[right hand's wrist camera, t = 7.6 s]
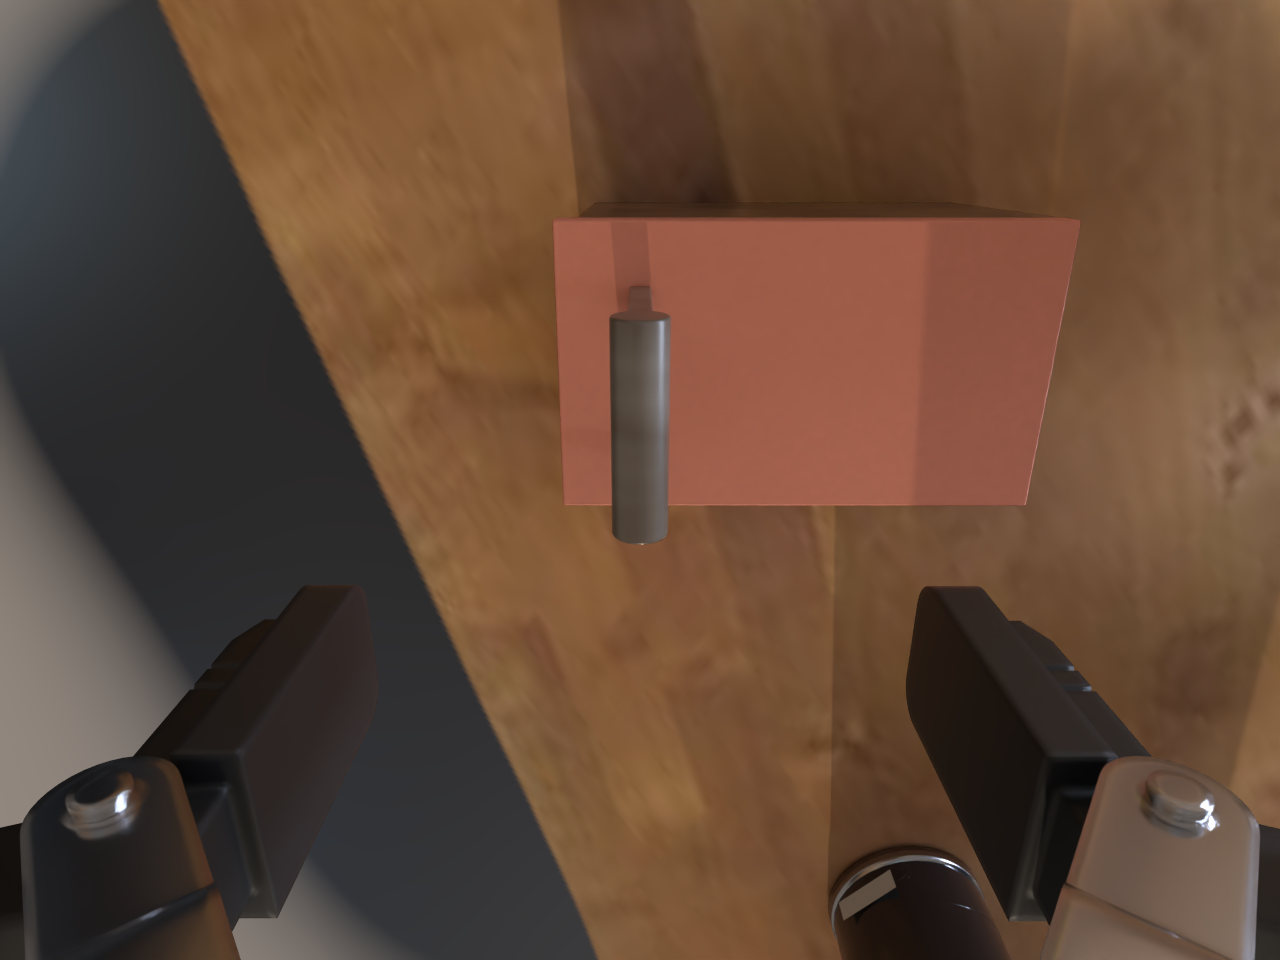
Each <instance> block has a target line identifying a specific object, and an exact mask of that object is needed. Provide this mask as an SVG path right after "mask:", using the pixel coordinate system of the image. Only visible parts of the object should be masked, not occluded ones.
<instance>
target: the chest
mask: <svg viewBox="0 0 1280 960" xmlns="http://www.w3.org/2000/svg"><path fill="white" fill-rule="evenodd" d="M579 218H1058V217H1052V216H1045V215H1037V214H1030V213H1022V212H1015V211H1007V210H1000V209H992V208H984V207H977V206H969V205H962V204H955V203H594V204H593V205H592V206H591V207H590V208H589V209H588V210H587V211H586V212H585V213H583V214H582V215H581V216H580V217H579Z"/></svg>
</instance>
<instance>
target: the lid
mask: <svg viewBox="0 0 1280 960" xmlns="http://www.w3.org/2000/svg"><path fill="white" fill-rule="evenodd" d="M1080 224H1081V221H1080V220H1075V219H1068V218H556V219H555V220H553V248H554V273H555V299H556V325H557V350H558V376H559V402H560V427H561V453H562V479H563V504H564V505H612V533H613V535H614V537H615V538H616V539H618V540H620V541H622V542H625V543H629V544H651V543H655V542H658V541H660V540H662V539H664V538H665V537H666V535H667V533H668V505H1025V504H1026V499H1027V494H1028V489H1029V484H1030V479H1031V474H1032V469H1033V464H1034V459H1035V453H1036V448H1037V443H1038V438H1039V433H1040V428H1041V423H1042V418H1043V413H1044V408H1045V403H1046V397H1047V392H1048V387H1049V382H1050V377H1051V372H1052V367H1053V362H1054V357H1055V352H1056V347H1057V341H1058V336H1059V331H1060V326H1061V321H1062V316H1063V311H1064V306H1065V301H1066V296H1067V291H1068V285H1069V280H1070V275H1071V270H1072V265H1073V260H1074V255H1075V250H1076V245H1077V240H1078V235H1079V229H1080Z"/></svg>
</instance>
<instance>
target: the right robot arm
mask: <svg viewBox="0 0 1280 960" xmlns="http://www.w3.org/2000/svg"><path fill="white" fill-rule="evenodd" d="M377 695H378V677H377V669H376V662H375V655H374V649H373V642H372V635H371V628H370V621H369V614H368V608H367V602H366V597H365V593H364V591H363V589H362V588H361V587H360V586H358V585H306V586H304V587H302V588H301V589H300V590H299V592H298V593H297V594H296V595H295V597H294V598H293V599H292V600H291V602H290V603H289V604H288V605H287V607H286V608H285V609H284V610H283V612H282V613H281V614H280V615H279V617H278V618H277V619H276V620H263V621H262V622H260V623H259V624H257V625H255V626H254V627H252V628H251V629H249V630H247V631H246V632H244V633H243V634H241V635H240V636H238V637H236V638H235V639H233V640H232V641H231V642H230V643H229V645H228V646H227V647H226V648H225V649H224V650H223V652H222V653H221V654H220V655H219V656H218V657H217V659H216V660H215V661H214V662H213V663H212V668H211V669H207V670H206V672H205V673H204V674H203V675H202V676H201V677H200V679H199V680H198V681H197V682H196V683H195V687H194V690H189V691H188V693H187V694H186V695H185V696H184V697H183V698H182V700H181V701H180V702H179V703H178V704H177V706H176V707H175V708H174V709H173V710H172V711H171V713H170V714H169V715H168V716H167V717H166V718H165V720H164V721H163V722H162V723H161V724H160V726H159V727H158V728H157V729H156V730H155V731H154V733H153V734H152V735H151V736H150V737H149V738H148V740H147V741H146V742H145V743H144V744H143V745H142V747H141V748H140V749H139V750H138V751H137V752H136V754H135V755H134V756H133V757H126V758H121V759H116V760H112V761H108V762H105V763H102V764H99V765H96V766H93V767H91V768H88V769H86V770H83V771H81V772H79V773H77V774H75V775H73V776H71V777H70V778H68V779H66V780H65V781H63V782H61V783H60V784H58V785H57V786H55V787H54V788H53V789H51V790H50V791H49V792H47V793H46V794H45V795H44V796H43V797H42V798H41V799H40V800H38V801H37V803H36V804H35V805H34V806H33V807H32V808H31V809H30V811H29V812H28V814H27V815H26V817H25V818H24V821H23V823H20V824H15V825H11V826H6V827H2V828H0V960H241V959H240V956H239V953H238V950H237V947H236V943H235V940H234V937H233V934H232V931H233V929H234V927H235V925H236V923H237V922H238V919H239V918H278V916H279V913H280V911H281V909H282V907H283V905H284V903H285V901H286V899H287V897H288V895H289V893H290V891H291V888H292V886H293V884H294V882H295V880H296V878H297V876H298V874H299V872H300V870H301V868H302V866H303V863H304V861H305V859H306V857H307V855H308V853H309V851H310V849H311V847H312V845H313V843H314V840H315V838H316V836H317V834H318V832H319V830H320V828H321V826H322V824H323V822H324V820H325V818H326V815H327V813H328V811H329V809H330V807H331V805H332V803H333V801H334V799H335V797H336V795H337V792H338V790H339V788H340V786H341V784H342V782H343V780H344V778H345V776H346V774H347V772H348V770H349V768H350V765H351V763H352V761H353V759H354V757H355V755H356V753H357V751H358V749H359V747H360V744H361V742H362V740H363V738H364V736H365V734H366V732H367V730H368V728H369V726H370V724H371V721H372V719H373V716H374V713H375V709H376V703H377ZM906 697H907V705H908V710H909V714H910V717H911V721H912V723H913V725H914V727H915V729H916V731H917V733H918V735H919V738H920V740H921V742H922V744H923V746H924V748H925V750H926V752H927V754H928V756H929V758H930V760H931V762H932V764H933V766H934V768H935V770H936V773H937V775H938V777H939V779H940V781H941V783H942V785H943V787H944V789H945V791H946V793H947V795H948V797H949V799H950V801H951V803H952V806H953V808H954V810H955V812H956V814H957V816H958V818H959V820H960V822H961V824H962V826H963V828H964V830H965V832H966V834H967V836H968V838H969V841H970V843H971V845H972V847H973V849H974V851H975V853H976V855H977V857H978V859H979V861H980V863H981V865H982V867H983V869H984V871H985V873H986V876H987V878H988V880H989V882H990V884H991V886H992V888H993V890H994V892H995V894H996V896H997V898H998V900H999V902H1000V904H1001V906H1002V908H1003V911H1004V913H1005V915H1006V917H1007V919H1008V921H1047V922H1048V924H1049V926H1050V928H1049V931H1048V934H1047V937H1046V940H1045V943H1044V947H1043V950H1042V953H1041V956H1040V959H1039V960H1280V829H1277V828H1273V827H1268V826H1265V825H1261V824H1258V823H1257V821H1256V818H1255V817H1254V815H1253V814H1252V812H1251V811H1250V809H1249V808H1248V807H1247V806H1246V805H1245V804H1244V803H1243V801H1242V800H1241V799H1239V798H1238V797H1237V796H1236V795H1235V794H1234V793H1233V792H1231V791H1230V790H1229V789H1227V788H1226V787H1225V786H1223V785H1222V784H1220V783H1219V782H1217V781H1215V780H1214V779H1212V778H1210V777H1209V776H1207V775H1205V774H1203V773H1201V772H1199V771H1197V770H1194V769H1192V768H1189V767H1187V766H1184V765H1182V764H1178V763H1175V762H1172V761H1169V760H1164V759H1160V758H1154V757H1152V756H1151V755H1150V754H1149V753H1148V752H1147V751H1146V749H1145V748H1144V747H1143V746H1142V745H1141V744H1140V742H1139V741H1138V740H1137V739H1136V738H1135V737H1134V735H1133V734H1132V733H1131V732H1130V731H1129V730H1128V729H1127V727H1126V726H1125V725H1124V724H1123V723H1122V722H1121V720H1120V719H1119V718H1118V717H1117V716H1116V715H1115V713H1114V712H1113V711H1112V710H1111V709H1110V708H1109V706H1108V705H1107V704H1106V703H1105V702H1104V701H1103V699H1102V698H1101V697H1100V696H1099V695H1098V694H1097V692H1092V691H1091V686H1090V684H1089V683H1088V682H1087V681H1086V680H1085V679H1084V677H1083V676H1082V675H1081V674H1080V673H1079V672H1078V671H1074V666H1073V665H1072V663H1071V662H1070V661H1069V660H1068V659H1067V658H1066V656H1065V655H1064V654H1063V653H1062V652H1061V651H1060V649H1059V648H1058V647H1057V646H1056V645H1055V644H1054V643H1053V642H1052V641H1051V640H1049V639H1048V638H1046V637H1045V636H1043V635H1041V634H1040V633H1038V632H1037V631H1035V630H1034V629H1032V628H1030V627H1029V626H1027V625H1026V624H1024V623H1023V622H1021V621H1008V619H1007V618H1006V617H1005V616H1004V614H1003V613H1002V612H1001V611H1000V609H999V608H998V607H997V606H996V605H995V603H994V602H993V601H992V600H991V598H990V597H989V596H988V595H987V593H986V592H985V591H984V590H983V589H982V588H980V587H977V586H927V587H925V588H923V590H922V591H921V593H920V595H919V599H918V604H917V610H916V617H915V623H914V630H913V637H912V644H911V650H910V657H909V664H908V670H907V678H906ZM828 909H829V917H830V921H831V925H832V929H833V932H834V935H835V938H836V940H837V941H838V946H839V950H840V954H841V958H842V960H1011V958H1010V956H1009V954H1008V951H1007V949H1006V947H1005V945H1004V943H1003V941H1002V939H1001V936H1000V934H999V931H998V929H997V927H996V925H995V923H994V921H993V919H992V917H991V914H990V912H989V910H988V908H987V906H986V904H985V900H984V896H983V893H982V891H981V889H980V887H979V885H978V882H977V880H976V878H975V876H974V874H973V873H972V871H971V870H970V869H969V868H968V867H967V865H966V864H964V863H963V862H962V861H961V860H959V859H958V858H956V857H955V856H953V855H951V854H949V853H946V852H944V851H941V850H938V849H933V848H928V847H918V846H907V847H898V848H892V849H888V850H884V851H881V852H877V853H875V854H872V855H870V856H868V857H866V858H864V859H862V860H860V861H859V862H857V863H856V864H854V865H853V866H852V867H850V868H849V869H848V870H847V871H846V872H845V873H844V874H843V875H842V876H841V877H840V878H839V880H838V881H837V883H836V884H835V886H834V888H833V890H832V892H831V895H830V899H829V905H828Z"/></svg>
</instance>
